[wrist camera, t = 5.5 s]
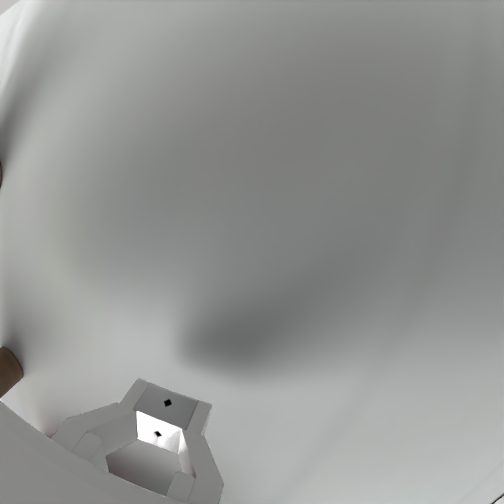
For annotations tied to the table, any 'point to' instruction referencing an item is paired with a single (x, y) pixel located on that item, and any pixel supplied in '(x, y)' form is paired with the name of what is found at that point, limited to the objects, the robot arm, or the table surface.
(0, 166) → the post
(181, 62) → the table surface
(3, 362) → the post
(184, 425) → the robot arm
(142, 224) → the table surface
